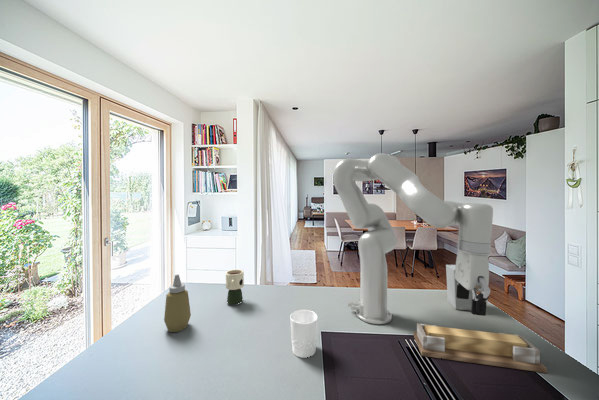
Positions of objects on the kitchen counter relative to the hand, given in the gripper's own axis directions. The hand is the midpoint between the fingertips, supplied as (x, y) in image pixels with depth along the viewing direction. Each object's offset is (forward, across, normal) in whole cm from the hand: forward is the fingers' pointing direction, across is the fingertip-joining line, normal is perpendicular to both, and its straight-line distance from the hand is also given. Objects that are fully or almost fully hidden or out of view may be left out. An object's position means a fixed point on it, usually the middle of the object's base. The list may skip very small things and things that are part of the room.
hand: (469, 306), depth 69 cm
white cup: (+14, +11, -46) cm, 49 cm away
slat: (+12, +1, +1) cm, 12 cm away
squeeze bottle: (+16, +9, -90) cm, 92 cm away
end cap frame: (+13, +1, +1) cm, 13 cm away
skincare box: (+14, -30, +9) cm, 34 cm away
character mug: (+16, -12, -80) cm, 82 cm away
